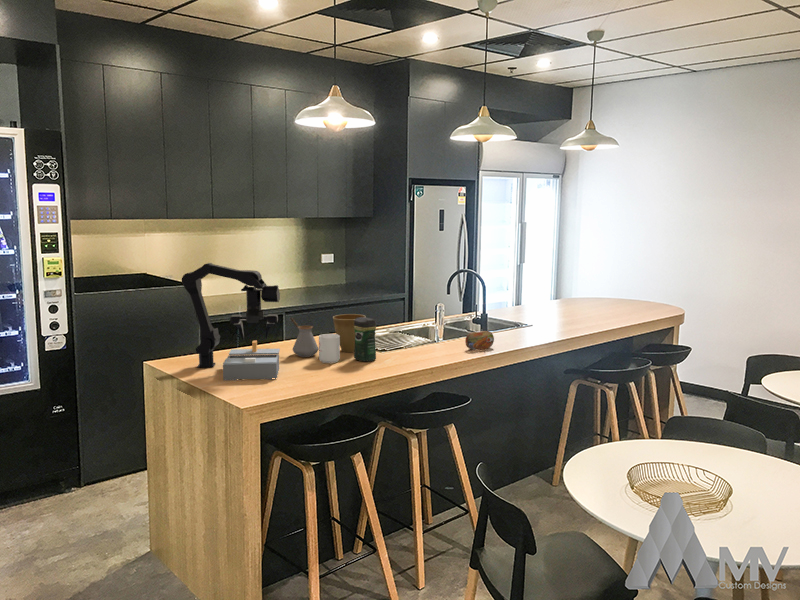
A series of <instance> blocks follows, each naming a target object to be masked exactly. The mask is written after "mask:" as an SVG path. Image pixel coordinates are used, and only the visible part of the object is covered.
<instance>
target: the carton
mask: <svg viewBox="0 0 800 600" xmlns="http://www.w3.org/2000/svg"><path fill="white" fill-rule="evenodd" d="M279 354H280V353H279ZM279 354H263V355H229V354H228V356H227V357H226V358H275V357H277V363H276V364H237V365H223V364H222V378H223V379H222V380H223V381H238V380H237V379H267V380H273V379H272V378H275V379H274V380H277V379H278V376H277V375H279V372H280V355H279ZM278 371H279V372H278ZM276 378H277V379H276Z"/></svg>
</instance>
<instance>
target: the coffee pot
mask: <svg viewBox="0 0 800 600" xmlns="http://www.w3.org/2000/svg"><path fill="white" fill-rule="evenodd" d="M287 320H288V321H290V322H292V323H293V325H295V327H296V328H297V329H298V331H299V332H298V335H297V338H296V340H295V342H294V345H293V347H292V351H293V353H294V354H295V355H296V356H297V357H299V356H300V357H301V358H310V356H311V357H314V356H315V355H316V354H317V353H319V345H318V344H317V342H316V340H315V337H314V334H313V333H312V330H313V327H314V326H313V325H299V324H298V323H297V322H296V321H295V319H294V318H293V317H289V318H288V319H287Z"/></svg>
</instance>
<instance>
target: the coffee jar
mask: <svg viewBox="0 0 800 600" xmlns="http://www.w3.org/2000/svg"><path fill="white" fill-rule="evenodd" d="M354 329H355V347H354V352H353V358H354V360H357V361H360V362H374V361H375V360H376V359H377V350H376V349H377V348H376V347H377V346H376V331H377V321H376V320H375V319H374V318H370V317H366V316H365V317H359V318H356V319H355V321H354Z"/></svg>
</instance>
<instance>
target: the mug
mask: <svg viewBox="0 0 800 600" xmlns="http://www.w3.org/2000/svg"><path fill="white" fill-rule="evenodd" d="M318 348H319V350H318V359H319V361H320V363H323V364H334V363H337V362H339V361H340V359H341V356H340V355H341V352H340V351H341V347H340V336H339V335H337V334H336V333H323V334H319V335H318Z"/></svg>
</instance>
